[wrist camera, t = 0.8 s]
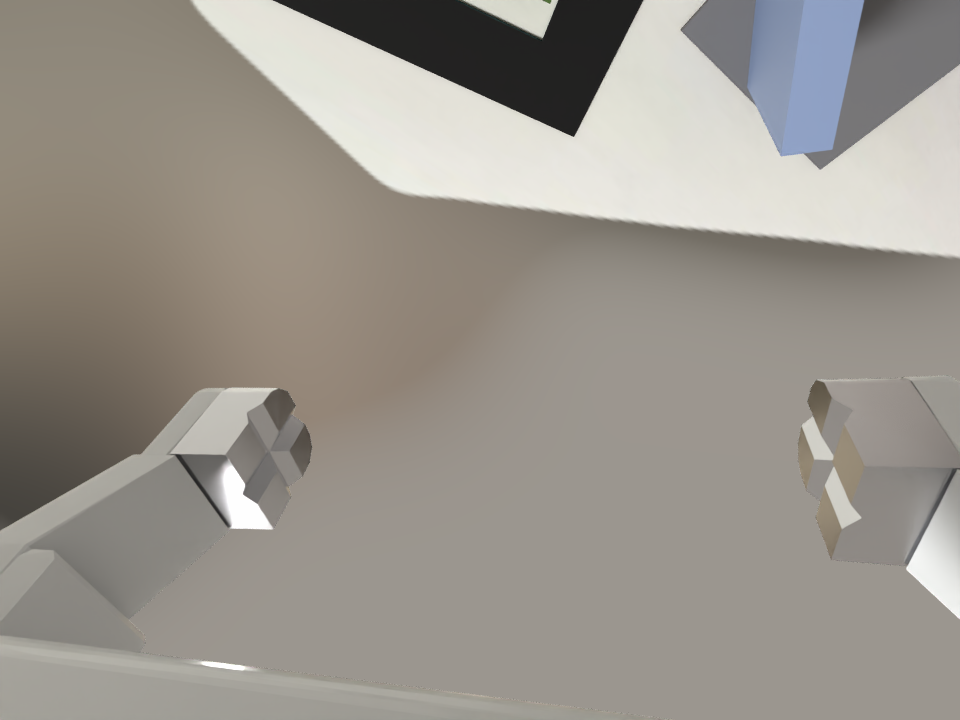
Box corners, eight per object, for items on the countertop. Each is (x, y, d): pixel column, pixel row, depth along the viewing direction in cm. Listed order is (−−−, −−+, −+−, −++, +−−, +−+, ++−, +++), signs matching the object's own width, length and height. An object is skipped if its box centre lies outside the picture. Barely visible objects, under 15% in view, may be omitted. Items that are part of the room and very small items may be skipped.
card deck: (747, 87, 38) (781, 156, 30) (761, -54, 33) (806, -13, 25) (789, 80, 37) (835, 149, 30) (810, -65, 32) (873, -26, 24)
